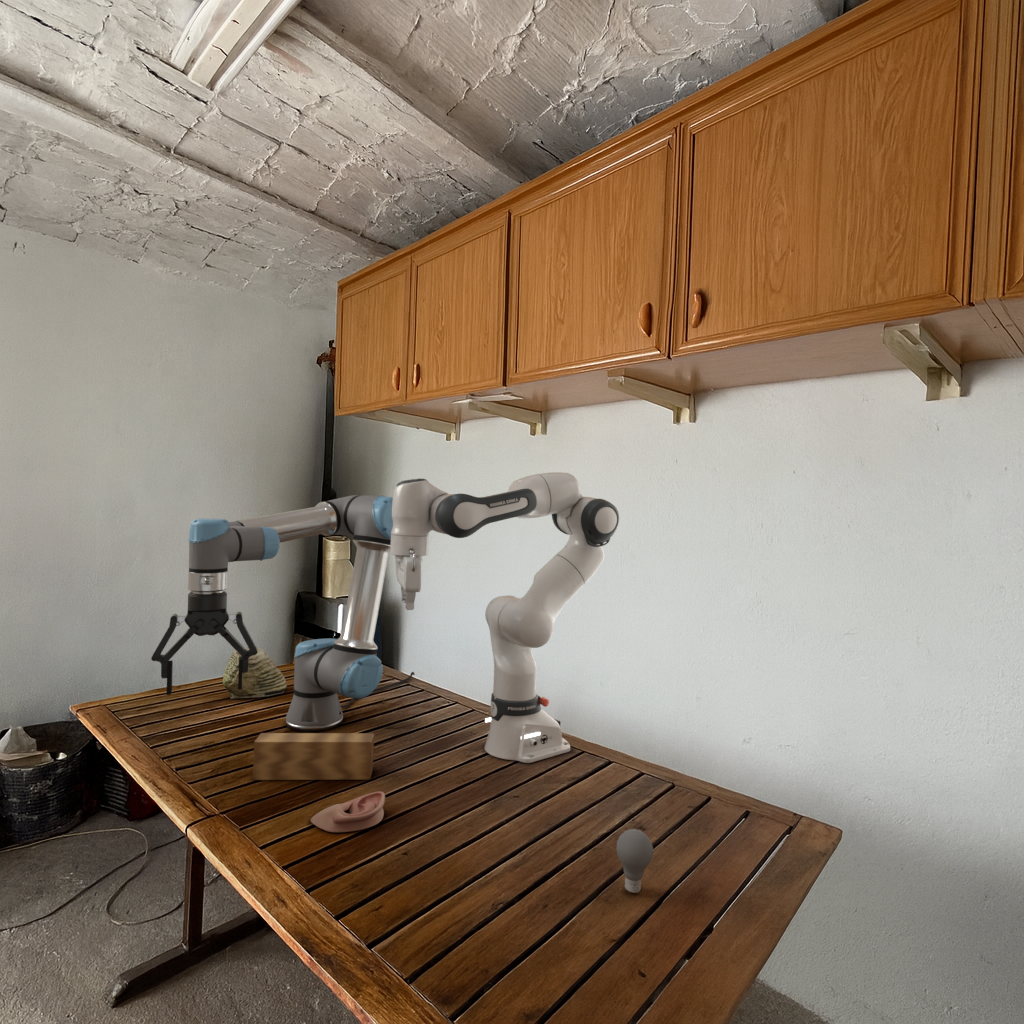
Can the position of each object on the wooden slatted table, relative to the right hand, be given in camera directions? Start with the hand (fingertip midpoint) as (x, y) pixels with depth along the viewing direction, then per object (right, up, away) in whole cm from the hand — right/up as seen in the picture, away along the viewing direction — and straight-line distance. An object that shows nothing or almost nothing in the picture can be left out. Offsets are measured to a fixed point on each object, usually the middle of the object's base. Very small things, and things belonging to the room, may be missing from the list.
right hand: (407, 605), depth 149 cm
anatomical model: (-8, -39, -24) cm, 46 cm away
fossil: (-56, -35, +49) cm, 82 cm away
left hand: (-41, -16, -14) cm, 46 cm away
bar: (-20, -38, -5) cm, 43 cm away
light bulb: (+45, -41, -44) cm, 75 cm away
